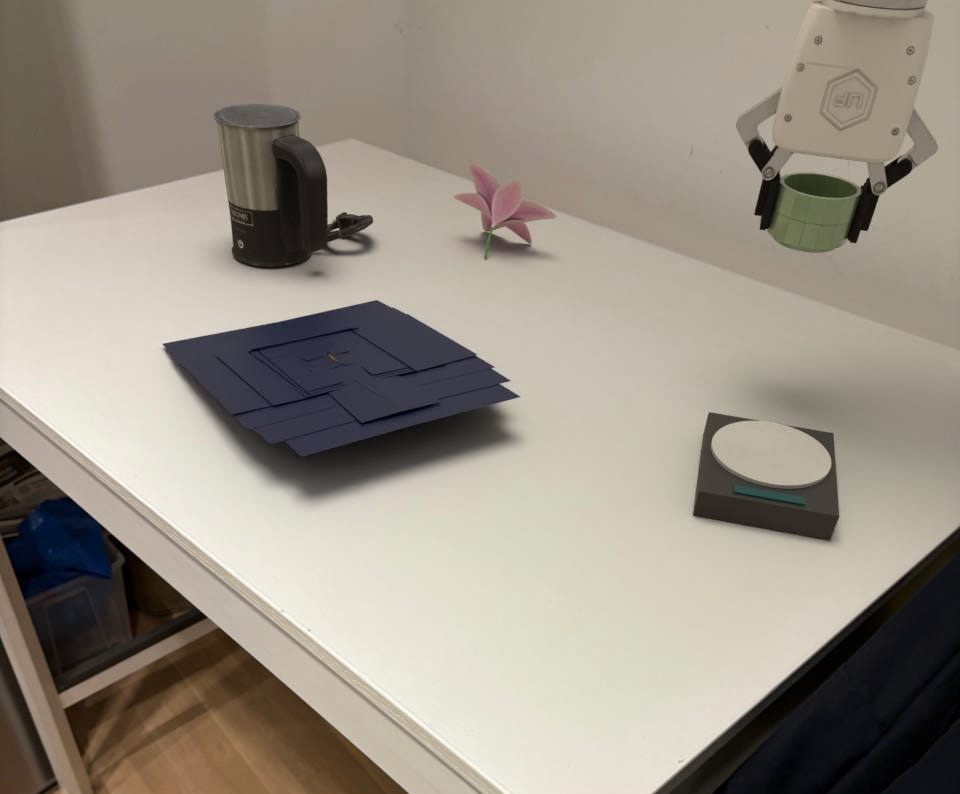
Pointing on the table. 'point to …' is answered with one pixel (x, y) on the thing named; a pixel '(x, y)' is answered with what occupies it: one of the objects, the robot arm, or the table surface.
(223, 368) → the papers
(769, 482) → the scale
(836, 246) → the bowl
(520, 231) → the lily
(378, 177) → the table surface
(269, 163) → the milk frother
